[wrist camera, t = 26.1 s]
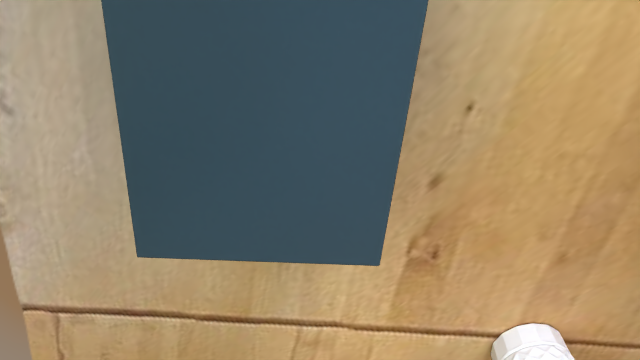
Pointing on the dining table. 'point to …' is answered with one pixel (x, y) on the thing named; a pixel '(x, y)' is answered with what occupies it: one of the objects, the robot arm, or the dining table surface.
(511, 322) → the dining table surface
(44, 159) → the dining table surface
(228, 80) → the tin lid
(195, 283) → the dining table surface
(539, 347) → the white cup
